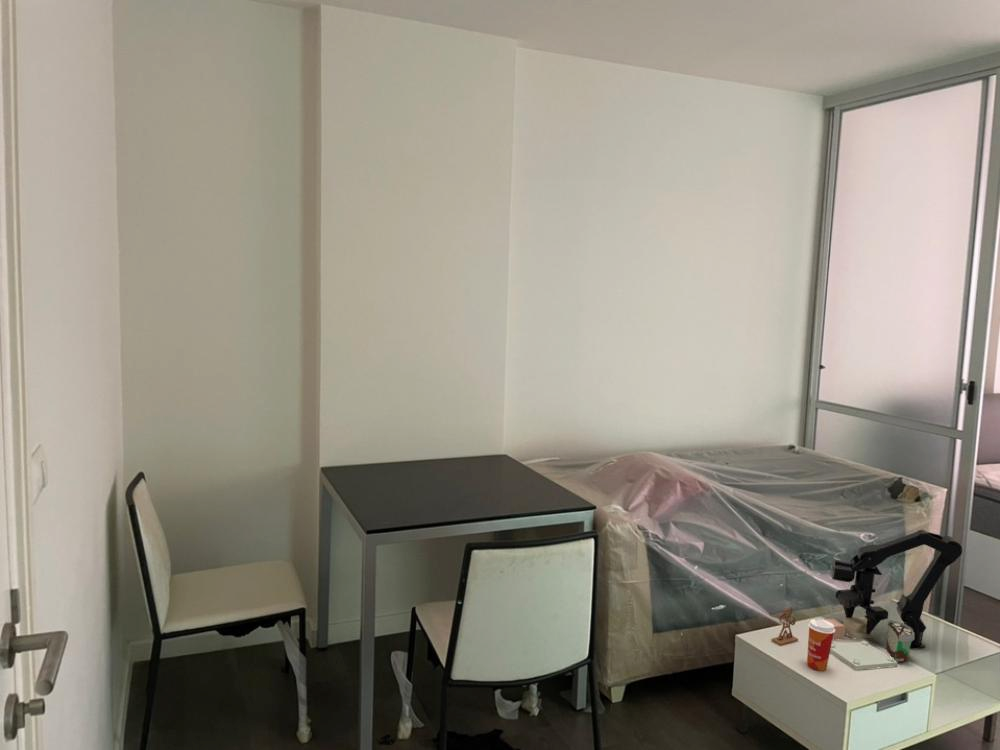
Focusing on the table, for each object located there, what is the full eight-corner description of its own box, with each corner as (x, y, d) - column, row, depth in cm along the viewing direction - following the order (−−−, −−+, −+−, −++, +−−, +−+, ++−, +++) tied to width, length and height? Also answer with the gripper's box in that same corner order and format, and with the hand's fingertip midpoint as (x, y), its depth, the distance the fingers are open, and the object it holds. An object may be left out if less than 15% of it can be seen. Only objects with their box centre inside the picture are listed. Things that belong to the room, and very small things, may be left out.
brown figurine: (788, 636, 258) (792, 602, 257) (798, 641, 255) (802, 606, 254) (770, 641, 254) (774, 606, 253) (780, 646, 251) (784, 611, 249)
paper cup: (798, 660, 242) (804, 617, 240) (822, 660, 242) (827, 618, 241) (811, 672, 234) (816, 629, 232) (835, 673, 235) (840, 629, 233)
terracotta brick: (832, 632, 264) (833, 618, 264) (843, 640, 259) (845, 625, 259) (812, 634, 262) (814, 620, 262) (823, 641, 257) (825, 627, 256)
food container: (916, 668, 242) (920, 638, 241) (895, 665, 243) (899, 635, 242) (904, 650, 254) (908, 621, 253) (884, 647, 255) (888, 619, 254)
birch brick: (860, 630, 268) (862, 616, 267) (872, 637, 263) (874, 623, 262) (841, 631, 266) (843, 618, 265) (853, 639, 260) (855, 625, 260)
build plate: (864, 645, 255) (865, 639, 255) (897, 666, 242) (898, 659, 242) (824, 649, 251) (825, 642, 251) (855, 670, 238) (856, 663, 237)
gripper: (825, 574, 269) (820, 617, 270) (864, 596, 251) (858, 642, 253) (851, 573, 272) (846, 615, 274) (892, 595, 254) (886, 639, 256)
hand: (858, 627), depth 264 cm, fingers open, 9 cm apart
